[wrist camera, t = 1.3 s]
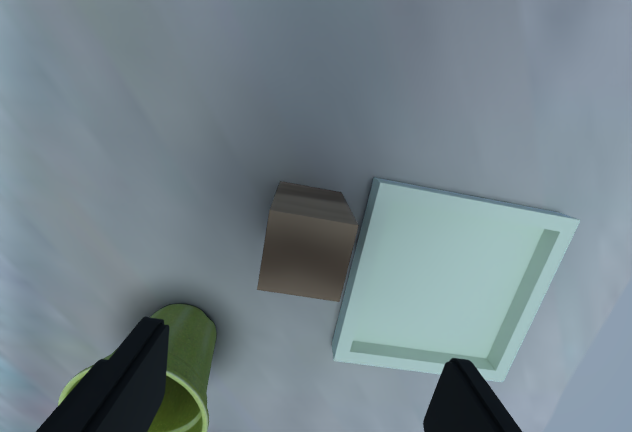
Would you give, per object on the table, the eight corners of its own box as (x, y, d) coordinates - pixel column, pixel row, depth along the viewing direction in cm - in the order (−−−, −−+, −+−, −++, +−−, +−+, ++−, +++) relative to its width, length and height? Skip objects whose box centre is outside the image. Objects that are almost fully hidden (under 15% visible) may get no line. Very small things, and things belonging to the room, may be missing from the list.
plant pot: (232, 375, 30) (205, 474, 21) (132, 367, 29) (64, 467, 21) (238, 292, 27) (210, 369, 19) (128, 281, 26) (48, 356, 18)
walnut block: (279, 181, 24) (269, 209, 16) (341, 192, 25) (358, 225, 17) (270, 238, 26) (257, 289, 18) (328, 248, 26) (339, 301, 18)
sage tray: (373, 177, 24) (380, 182, 22) (559, 212, 26) (580, 220, 24) (331, 344, 29) (333, 360, 27) (490, 365, 31) (503, 382, 29)
